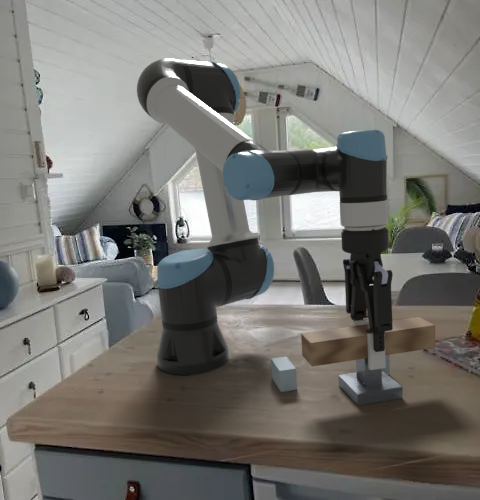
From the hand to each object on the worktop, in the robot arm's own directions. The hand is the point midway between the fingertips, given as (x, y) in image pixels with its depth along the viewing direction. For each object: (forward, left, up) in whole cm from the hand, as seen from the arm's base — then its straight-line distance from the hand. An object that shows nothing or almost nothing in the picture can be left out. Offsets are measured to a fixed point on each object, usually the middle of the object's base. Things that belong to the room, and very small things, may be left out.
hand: (369, 361), depth 84 cm
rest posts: (-4, +8, -6) cm, 11 cm away
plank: (0, 0, +2) cm, 2 cm away
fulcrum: (0, 0, -6) cm, 6 cm away
